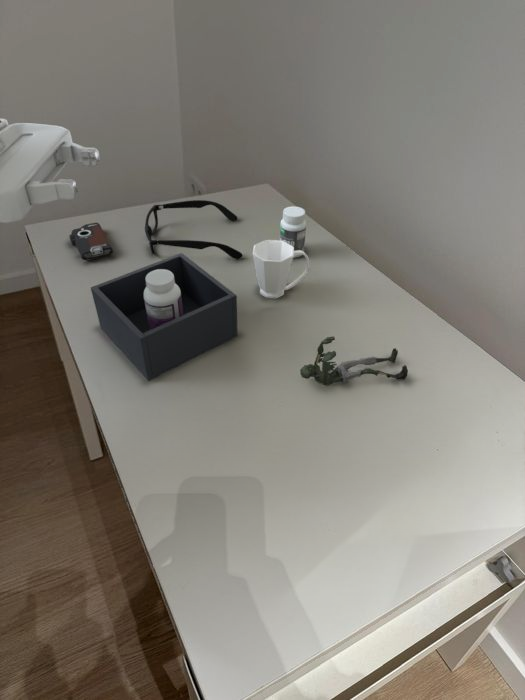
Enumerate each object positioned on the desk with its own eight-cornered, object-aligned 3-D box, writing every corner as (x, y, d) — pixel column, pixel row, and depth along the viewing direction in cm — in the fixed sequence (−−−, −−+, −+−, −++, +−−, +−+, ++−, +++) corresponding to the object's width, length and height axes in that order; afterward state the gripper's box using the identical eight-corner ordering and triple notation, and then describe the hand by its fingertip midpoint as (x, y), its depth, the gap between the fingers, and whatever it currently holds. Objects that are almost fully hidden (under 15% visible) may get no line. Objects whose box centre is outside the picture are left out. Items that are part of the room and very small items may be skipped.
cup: (246, 283, 90) (246, 242, 84) (300, 274, 92) (303, 233, 87) (258, 306, 85) (259, 264, 79) (314, 296, 87) (319, 255, 82)
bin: (148, 381, 72) (140, 338, 66) (100, 328, 80) (90, 287, 75) (237, 336, 79) (236, 295, 74) (185, 292, 87) (181, 252, 82)
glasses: (151, 224, 106) (147, 202, 103) (237, 218, 107) (235, 195, 104) (146, 268, 94) (141, 244, 91) (243, 261, 95) (241, 237, 91)
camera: (75, 252, 91) (64, 226, 99) (80, 265, 93) (69, 239, 101) (110, 242, 93) (97, 217, 101) (114, 255, 95) (101, 230, 103)
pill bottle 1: (164, 314, 82) (157, 262, 75) (191, 325, 80) (186, 272, 73) (142, 332, 78) (132, 279, 72) (169, 345, 76) (162, 291, 70)
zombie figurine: (416, 346, 68) (306, 363, 65) (405, 382, 72) (303, 398, 70) (399, 320, 72) (295, 335, 69) (391, 355, 76) (293, 370, 74)
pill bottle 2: (273, 251, 98) (275, 210, 92) (292, 243, 100) (294, 202, 94) (290, 261, 95) (293, 220, 89) (309, 253, 97) (312, 212, 92)
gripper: (-85, 179, 52) (50, 184, 52) (-1, 113, 68) (104, 117, 67) (-60, 234, 57) (65, 239, 56) (14, 160, 72) (112, 164, 72)
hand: (86, 172), depth 62 cm, fingers open, 8 cm apart
